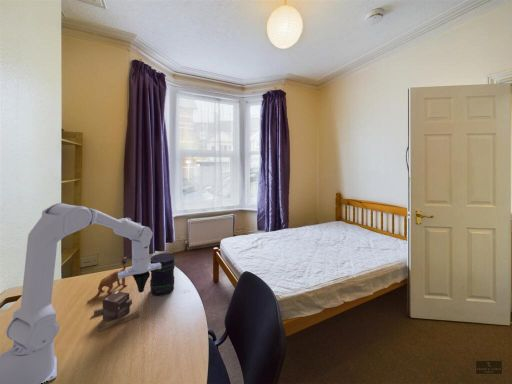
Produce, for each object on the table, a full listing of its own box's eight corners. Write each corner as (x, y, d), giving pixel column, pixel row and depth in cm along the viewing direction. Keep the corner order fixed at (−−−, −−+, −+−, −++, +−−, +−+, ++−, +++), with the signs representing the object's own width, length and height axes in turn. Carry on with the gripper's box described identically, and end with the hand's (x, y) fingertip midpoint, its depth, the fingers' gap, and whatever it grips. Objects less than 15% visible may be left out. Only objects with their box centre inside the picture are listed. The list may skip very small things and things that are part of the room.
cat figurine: (92, 307, 83) (90, 274, 82) (81, 303, 86) (78, 270, 84) (133, 284, 100) (132, 255, 98) (123, 280, 102) (122, 253, 101)
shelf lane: (98, 331, 71) (98, 327, 70) (94, 314, 79) (94, 310, 79) (139, 316, 79) (139, 312, 79) (131, 302, 87) (131, 298, 87)
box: (116, 322, 75) (116, 302, 74) (102, 319, 76) (101, 299, 76) (130, 311, 81) (130, 293, 80) (116, 309, 82) (116, 290, 82)
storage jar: (173, 282, 103) (174, 252, 102) (175, 293, 94) (175, 260, 93) (150, 286, 99) (150, 254, 97) (149, 298, 90) (149, 263, 89)
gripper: (157, 249, 90) (157, 281, 91) (116, 258, 80) (116, 293, 82) (163, 255, 85) (163, 288, 86) (120, 264, 75) (120, 301, 76)
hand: (140, 291), depth 84 cm, fingers closed
